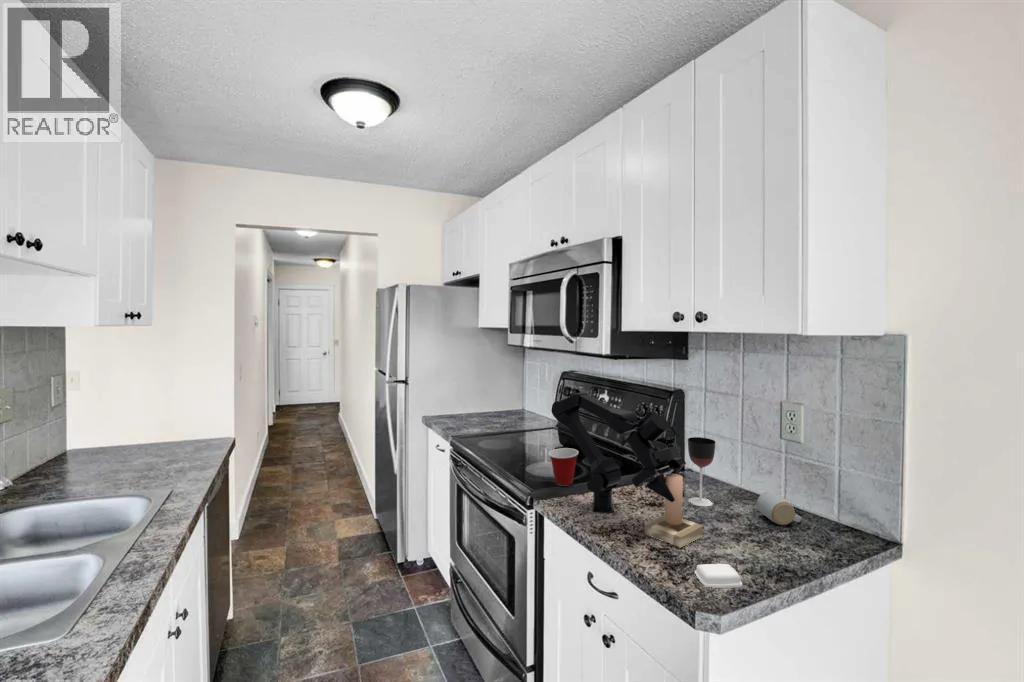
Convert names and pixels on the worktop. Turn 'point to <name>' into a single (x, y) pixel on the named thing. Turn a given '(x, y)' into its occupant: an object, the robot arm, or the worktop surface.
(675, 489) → the dowel
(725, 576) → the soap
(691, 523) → the socket block
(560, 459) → the plastic cup
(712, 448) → the wineglass
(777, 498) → the ceramic mug
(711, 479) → the worktop surface
